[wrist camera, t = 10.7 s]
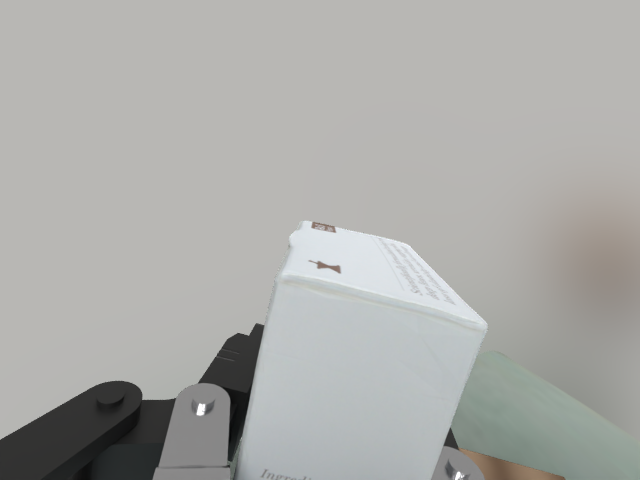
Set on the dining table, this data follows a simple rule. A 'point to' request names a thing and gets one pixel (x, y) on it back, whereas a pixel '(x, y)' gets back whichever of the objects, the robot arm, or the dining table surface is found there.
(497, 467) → the walnut board
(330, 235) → the skincare box
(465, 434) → the dining table surface
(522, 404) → the dining table surface
